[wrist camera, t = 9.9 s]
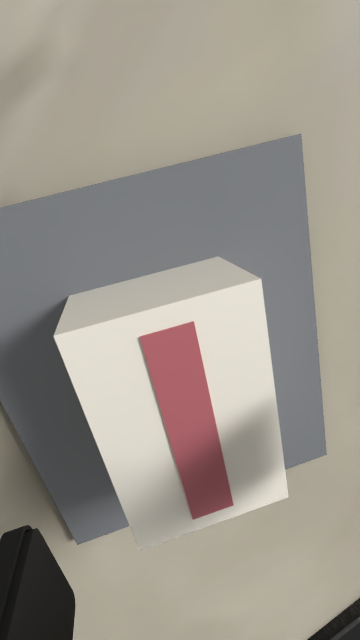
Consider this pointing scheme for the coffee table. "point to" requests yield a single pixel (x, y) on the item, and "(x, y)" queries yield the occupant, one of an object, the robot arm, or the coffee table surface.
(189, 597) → the coffee table surface
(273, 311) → the mat
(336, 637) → the phone
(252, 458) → the card box
